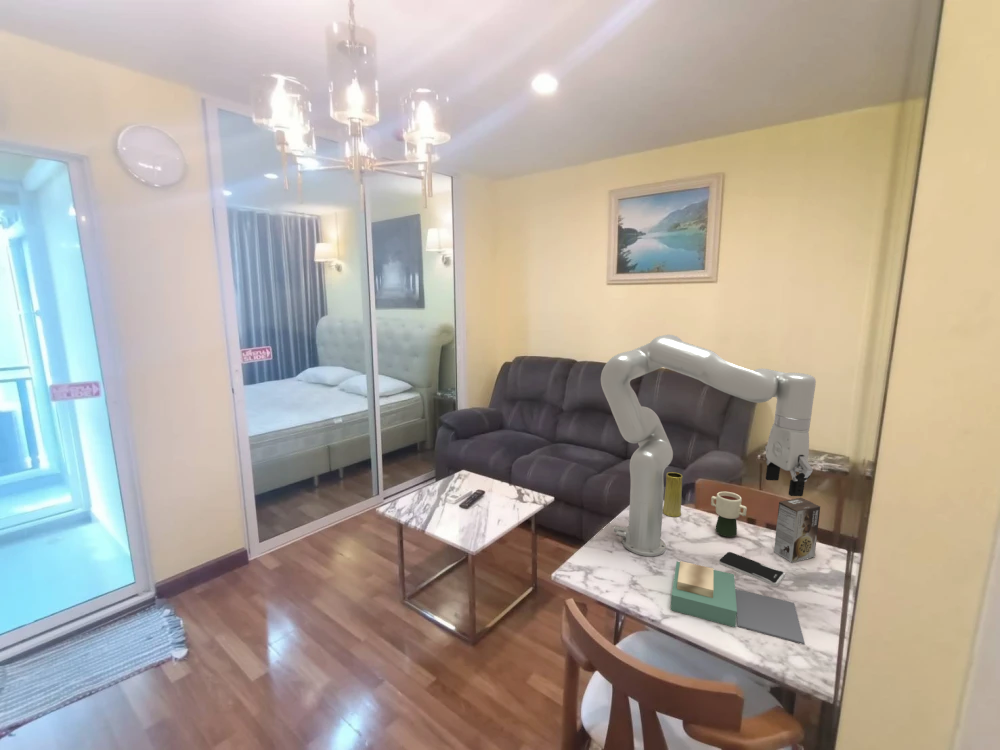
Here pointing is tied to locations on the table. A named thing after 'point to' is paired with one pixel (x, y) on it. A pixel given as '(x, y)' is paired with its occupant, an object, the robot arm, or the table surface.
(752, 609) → the rubber mat
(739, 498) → the character mug
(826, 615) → the table surface
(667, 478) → the vase
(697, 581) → the oak tile
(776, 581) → the smartphone
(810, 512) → the coffee box
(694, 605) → the green flat block
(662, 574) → the table surface
